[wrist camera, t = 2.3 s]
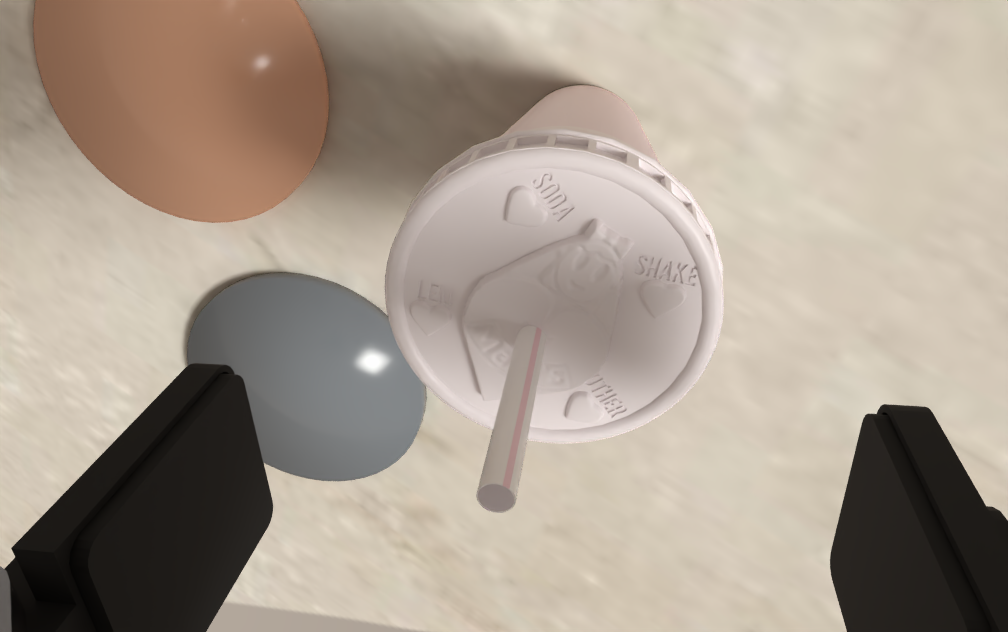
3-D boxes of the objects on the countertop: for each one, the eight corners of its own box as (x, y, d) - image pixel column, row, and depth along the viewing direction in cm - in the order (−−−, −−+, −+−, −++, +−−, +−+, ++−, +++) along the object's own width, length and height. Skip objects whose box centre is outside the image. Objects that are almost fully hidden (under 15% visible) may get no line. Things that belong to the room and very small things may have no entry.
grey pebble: (170, 265, 27) (157, 275, 26) (412, 272, 25) (405, 283, 25) (229, 459, 31) (220, 472, 31) (439, 475, 30) (434, 489, 29)
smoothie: (435, 174, 23) (225, 496, 11) (549, -16, 20) (424, 155, 8) (606, 283, 24) (578, 683, 12) (741, 119, 21) (878, 445, 9)
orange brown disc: (7, -85, 22) (-13, -83, 21) (306, -95, 20) (295, -93, 20) (102, 209, 26) (88, 218, 25) (351, 216, 25) (343, 226, 24)
